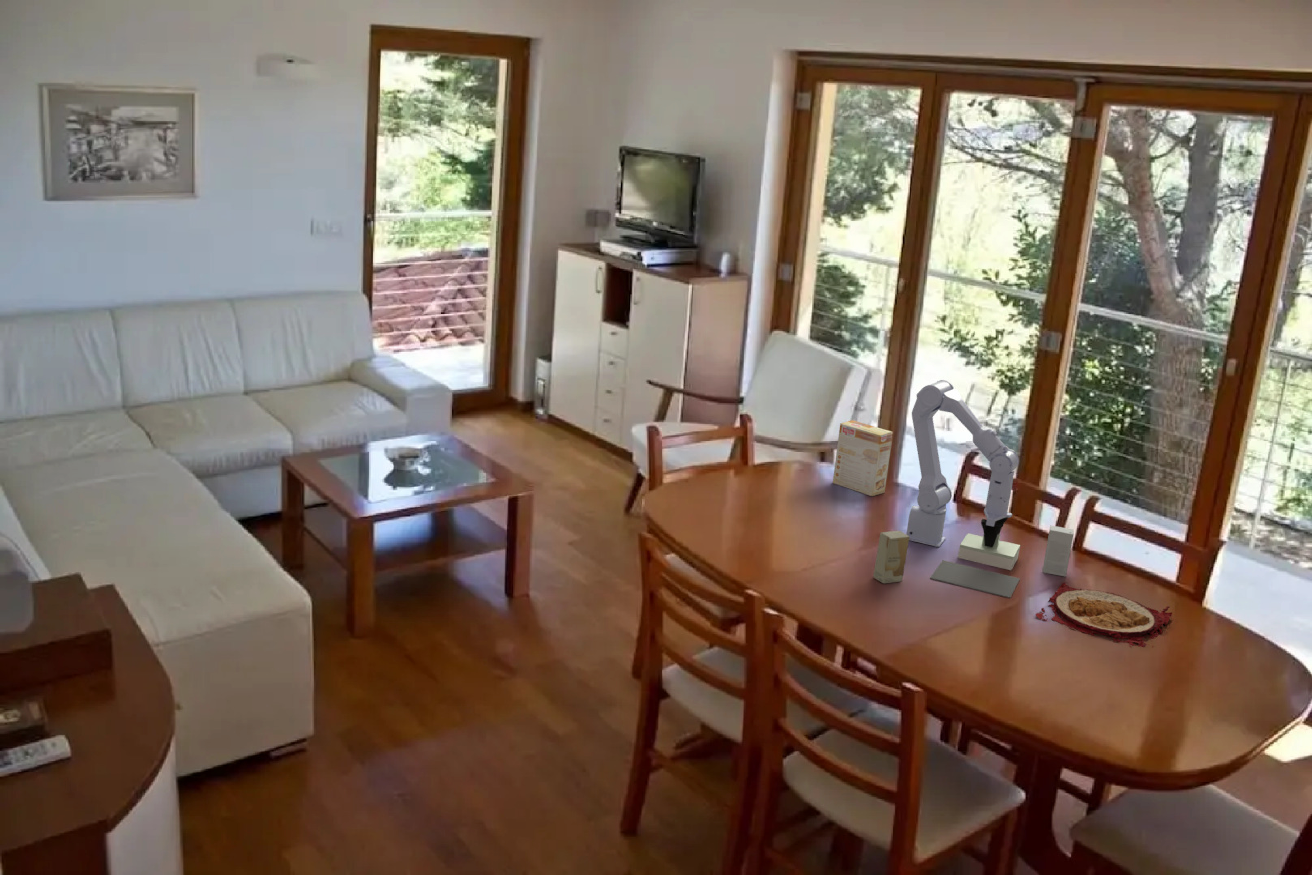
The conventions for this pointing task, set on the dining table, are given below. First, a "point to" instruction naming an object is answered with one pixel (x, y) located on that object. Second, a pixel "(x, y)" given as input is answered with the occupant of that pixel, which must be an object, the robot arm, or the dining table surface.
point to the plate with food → (1106, 614)
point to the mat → (975, 579)
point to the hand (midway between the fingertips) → (990, 543)
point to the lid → (998, 549)
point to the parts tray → (987, 558)
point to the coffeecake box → (862, 457)
